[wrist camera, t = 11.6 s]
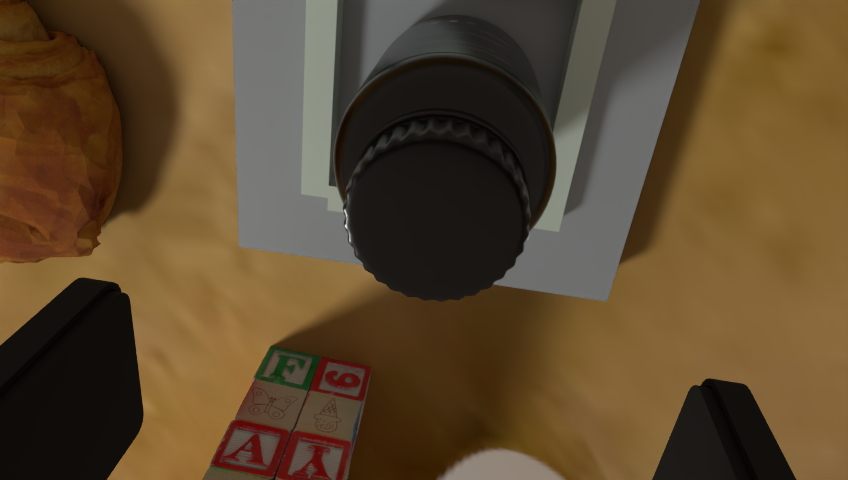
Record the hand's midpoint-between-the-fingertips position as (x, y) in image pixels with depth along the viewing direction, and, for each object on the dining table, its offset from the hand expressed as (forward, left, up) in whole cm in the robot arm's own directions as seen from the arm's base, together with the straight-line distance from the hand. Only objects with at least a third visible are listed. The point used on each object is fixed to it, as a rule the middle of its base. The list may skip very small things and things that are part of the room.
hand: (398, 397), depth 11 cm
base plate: (0, 0, -21) cm, 21 cm away
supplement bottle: (0, 0, -18) cm, 18 cm away
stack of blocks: (+6, +27, -21) cm, 35 cm away
